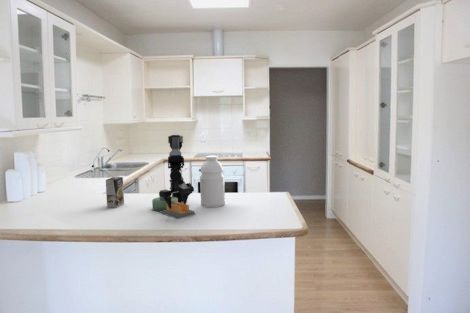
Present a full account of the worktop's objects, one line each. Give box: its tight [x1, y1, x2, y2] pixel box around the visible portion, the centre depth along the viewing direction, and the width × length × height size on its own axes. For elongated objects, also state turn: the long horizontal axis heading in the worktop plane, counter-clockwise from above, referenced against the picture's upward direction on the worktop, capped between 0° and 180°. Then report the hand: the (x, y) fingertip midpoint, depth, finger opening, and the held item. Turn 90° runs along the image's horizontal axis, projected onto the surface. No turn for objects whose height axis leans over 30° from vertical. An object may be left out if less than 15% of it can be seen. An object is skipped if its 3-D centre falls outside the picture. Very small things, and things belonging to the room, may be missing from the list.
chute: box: [166, 202, 190, 214], centre depth 204 cm, size 12×6×4 cm, turn 44°
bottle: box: [199, 155, 226, 208], centre depth 220 cm, size 14×14×28 cm
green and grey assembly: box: [151, 195, 196, 220], centre depth 210 cm, size 14×30×9 cm, turn 44°
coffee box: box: [105, 176, 125, 209], centre depth 223 cm, size 9×6×16 cm
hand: (177, 207), depth 204 cm, fingers open, 9 cm apart
